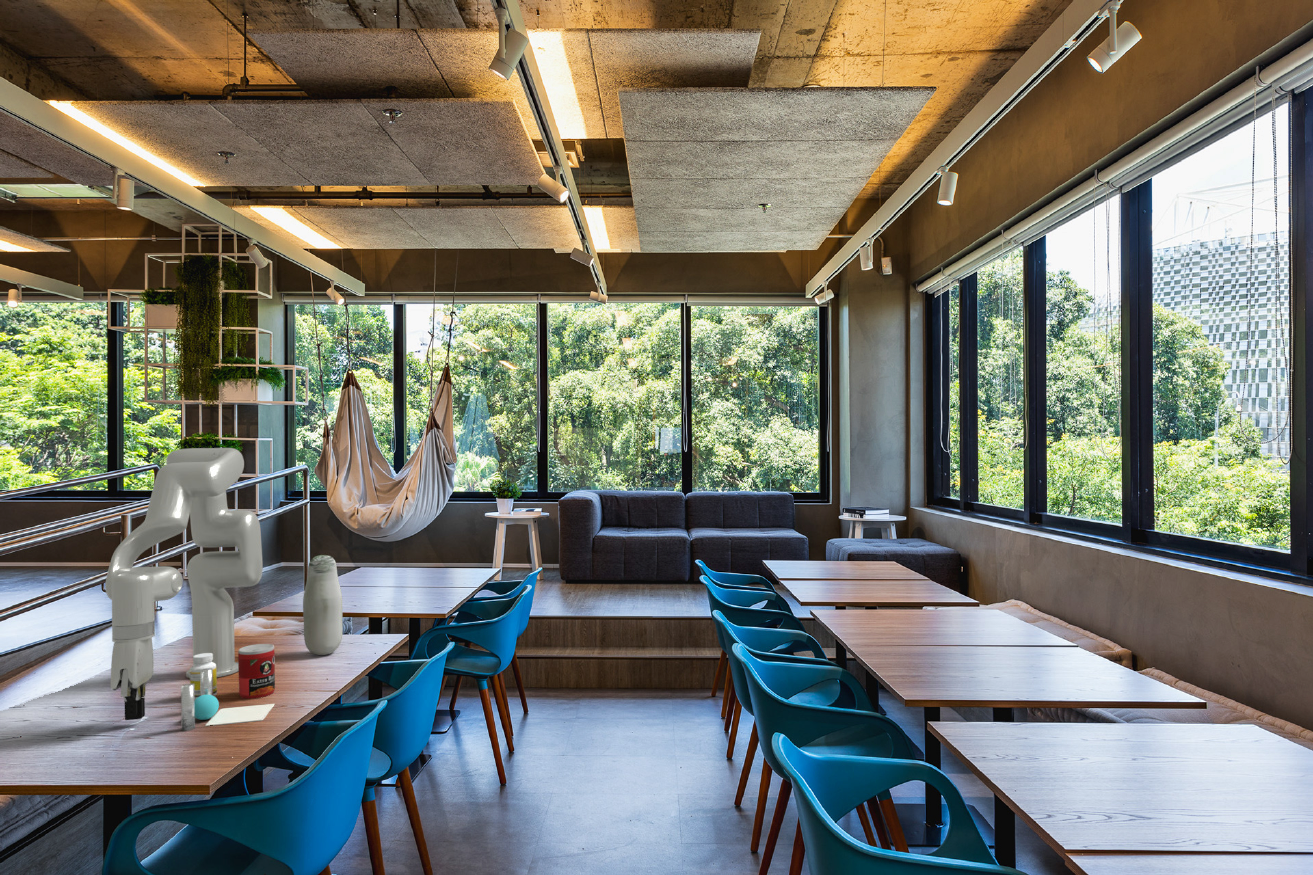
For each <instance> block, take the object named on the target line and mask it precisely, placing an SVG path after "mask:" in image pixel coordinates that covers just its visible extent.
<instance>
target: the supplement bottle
mask: <svg viewBox="0 0 1313 875" xmlns="http://www.w3.org/2000/svg"><path fill="white" fill-rule="evenodd" d="M212 660H213V654H212V653H203V654H198V655H195V656H193V655H192V665H191V666H190V668H189V669H190V678H189V680H190V682H189V684H194V692H195V699H196V698H198V697H199V696H201V690H200V670H202V669H206V668H212V669H213V696H214V697H216V695H217V693H218V682H217V678H218V677H217V675H216V664H215V663H213V662H212ZM193 663H195V664H194V665H193Z"/></svg>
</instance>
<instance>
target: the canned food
mask: <svg viewBox="0 0 1313 875" xmlns="http://www.w3.org/2000/svg"><path fill="white" fill-rule="evenodd" d="M237 653H238V654H237V658H238V660H237V662H238V669H239V671H238V694H239V697H240V698H242V699H245V700H255V699H260V698H261V697H262V698H264V697H265V698H266V697H269V696H271V695H273V693H275V690H276V689H275V688H276V679H275V678H276V677H275V676H276V672H275V670H276V669H275V668H276V666H275V664H276V663H275V661H276V660H275V659H276V658H275V653H276V652H275V644H271V643H258V644H250V645H247V646H243V647H241V648H239V649H238V652H237ZM268 695H269V696H268Z"/></svg>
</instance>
